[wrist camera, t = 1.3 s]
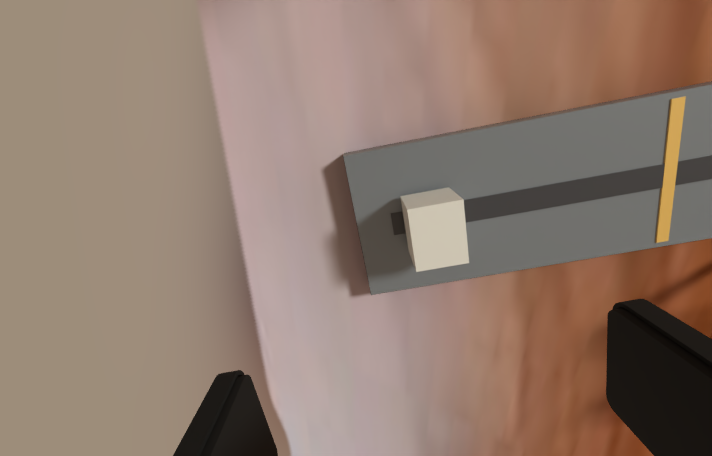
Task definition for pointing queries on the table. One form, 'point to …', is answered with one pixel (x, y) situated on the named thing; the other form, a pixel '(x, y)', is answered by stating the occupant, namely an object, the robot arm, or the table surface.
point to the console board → (545, 186)
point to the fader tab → (435, 229)
